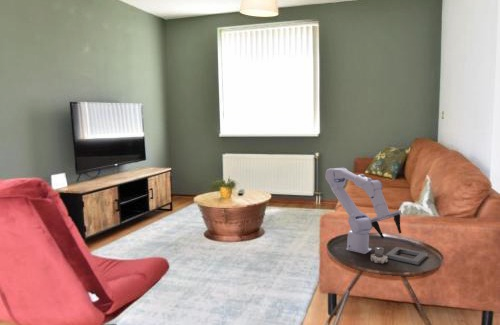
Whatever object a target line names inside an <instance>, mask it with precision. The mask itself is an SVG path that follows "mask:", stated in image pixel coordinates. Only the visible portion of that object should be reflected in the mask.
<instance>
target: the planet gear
mask: <svg viewBox="0 0 500 325" xmlns="http://www.w3.org/2000/svg"><path fill="white" fill-rule="evenodd" d="M384 250H385V249H384V247H383V246H382V247H380V246H376V247H374V253H372V254H370V261H371V262H373V263H376V264H384V263H388V260H389V259H388V258H387V256H385V255H386V254H385V251H384Z"/></svg>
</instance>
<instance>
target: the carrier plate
mask: <svg viewBox="0 0 500 325" xmlns="http://www.w3.org/2000/svg"><path fill="white" fill-rule="evenodd" d="M400 253H401V254H405V255H412V256H415V257H414V258H412V257H407V256H403V255H398V254H400ZM384 255H385V256H387V258H388V260H389V259H390V260H393V261H398V262H403V263H406V264H410V265H411V264H412V265H416V266H418V265H420V264H421V263H422V262H423V261H424V260H425V259H426V258H427V257H428V252H423V251H418V250H413V249H408V248H404V247H399V246H395V247H394V248H392V249H391V250H390V251H388V252H386V254H384Z"/></svg>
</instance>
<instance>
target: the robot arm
mask: <svg viewBox="0 0 500 325" xmlns="http://www.w3.org/2000/svg"><path fill="white" fill-rule="evenodd" d="M324 176H325V180H326V182H327V183H328V185H329V187H330V189H331V192H333V194H334V196H335V197H336V199H337V200H338V202H339V203H340V205H341V206H342V208H343V209H344V210H345V212H346V213H347V215H348V216H349V217H348V220H347V223H348V224H349V227H350V230H349V231H348V233H347V238H346V239H347V242H346V250H347V251H350V252H355V253H359V254H362V255H363V254H364V255H365V254H367V253H369V252H371V251H372V248H371V247H369V246H370V245H369V244H370V243H369V242H370V232H371V230H372V229H373V228H374V229H375V230H376V232H377V233H378V234H379V236H380V237H381V239H384V234H383V232H382V230H381V227H380V224H379V222H382V221H384V220H389V219H391V218H393V221H394V222H395V226H396V228H397V232H398V234H401V233H402V229H401V216H402V215H403V213H402V211H401V209H400V210H396V211H392V212H390V210H389V207H388V204H387V201H386V199H385V196H384V193H383V191H382V190H383V187H384V186H383V183H382V182H381V181H380V180H379V179H372V178H371V177H367V176H366V175H365V173H364V174H363V173H361V174H356V173H353V172H351V171H350V170H349V169H348V168H345V167H335V168H327V169H326V171H325V174H324ZM347 180H349V181H350V182H353V183H354V186H356V187H358V188H360V189H361V190H363V191H364V192H365V194H367V197H368V198H370V201H371V204H372V207H373V209H374V212H375V214H376V216H375V217H370V216H368V215H367V214H366V213H364V212H363V211H361V210H360V209H359V208H358V207H357V205H356V204H355V202H354V201H353V199H352V198H351V197H350V195H349V194H348V192H347V191H346V190H345V188H344V186H346V182H347Z"/></svg>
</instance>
